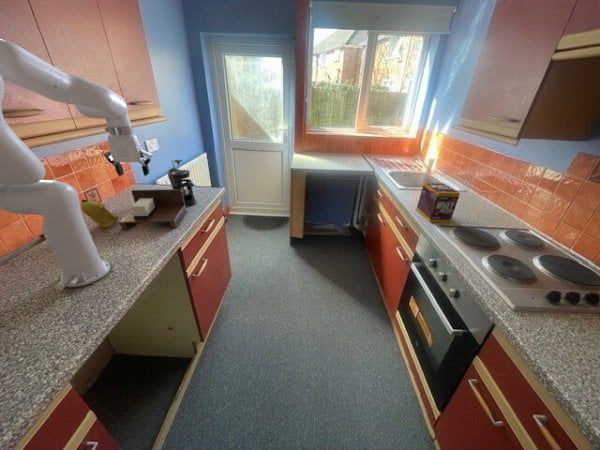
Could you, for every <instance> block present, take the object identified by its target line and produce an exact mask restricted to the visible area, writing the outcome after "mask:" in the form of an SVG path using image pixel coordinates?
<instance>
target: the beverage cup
mask: <svg viewBox="0 0 600 450" xmlns="http://www.w3.org/2000/svg"><path fill="white" fill-rule="evenodd" d="M173 161H174V160H171V162H172V167H171V168H170V169H169V170H168V171H167V177H168V179H169V182H170V184H171V187H172V189H174V188H173V181H175V180H179V179H174V178H172V175H171V172H173V171H177V170H179V168H177V167H175V162H173ZM176 184H178V185H181V184H182V182H178V183H176ZM179 188H180V189H182V190H183V187H179Z"/></svg>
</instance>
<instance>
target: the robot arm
mask: <svg viewBox="0 0 600 450" xmlns="http://www.w3.org/2000/svg"><path fill="white" fill-rule="evenodd" d="M5 82H6V83H11V84H13V85H17V86H18V87H21V88H22V89H26V90H28V91H31V92H33V93H35V94H37V95H40V96H42V97H44V98H45V99H49V100H50V101H53V102H57V103H62V104H65V105H66V104H67V105H73V106H75V108H76V110H77V111H78V112H79V113H80V114H81V115H82V116H84V117H86V118H89V119H95V120H97V119H100V120H105V123H106V127H104V130H105V132H108V133H109V134H108V135H107V141H108V147H109V151H107V152H106V153H104V154H103V157H104V158H105V159H106V160H107V161H108V162H109V163H110V164H111V165H112V166H113V167H114V169H115V171H116V174H117V175H118V177H122V176H123V175H124V174H125V172H124V169H123V166H122V164H121V163H139V164H141V169H142V174H143V176H145V177H146V176H148V175H149V174H150V168H149V164H150V162H151V161H152V158H153V154H152V153H150V152H148V151H146V150H144V149H143V147H142V145H141V143H140V140H139V138H138V136H137V135H136V133H135V132H134V130H133V126H132V122H131V119H130V115H129V112H128V105H127V103H126V100H125V98H124V97H123V96H122V95H120V94H117V93H116V92H115V91H113V90H111V89H109V88H108V87H106V86H104V85H102V84H100V83H96V82H94V81H91V80H89V79H85V78H83V77H80V76H77V75H74V74H71V73H68V72H65V71H63V70H61V69H59V68H58V67H56V66H54V65H52V64H50V63H49V62H47V61H46V60H43V59H42V58H40V57H38V56H37V55H35V54H33V53H31V52H30V51H29V50H26V49H25V48H24V47H23V48H22V47H21V46H19V45H17V44H15V43H13V42H11V41H9V40H6V39H2V38H0V209H1V210H2V211H5V212H7V213H10V214H15V215H35V216H41V217H42V224H41V231H42V234H43V236H44V238H45V240H46V242H47V244H48V245H49V247H50V249H51V251H52V253H53V254H54V257H55V259H56V260H57V262H58V264H59V266H60V268H61V270H62V272H61V277H60V281H59V282H58V283H57V284H55V286H54V288H55V289H56V290H59V291H62V290H64V288H65V287H67V288H80V287H83V286H87V285H90V284H93V283H95V282H98V281H99V280H101V279H102V278H104V277H105V276H106V275H108V274H109V272H110V271H111V264H110V262H108V261H107V260H105V259H104V260H103V259H102V258H101V256H100V254H99V252H98V248H97V247H96V244H95V242H94V240H93V237H92V235H91V232H90V230H89V228H88V226H87V224H86V221H85V219H84V216H83V211H82V209H81V202H80V197H79V193H78V191H77V190H76V188H75V187H74V186H72V185H70V184H69V183H67V182H63V181H59V180H52V179H50V180H49V179H44V178H45V176H46V168H45V166H44V164H43V162H42V161H41V160H40V159H39V157H37V155H36V154H35V153H34V152H33V151H32V150H31V149H30V147H28V146H27V145H26V143H24V142H23V140H22V139H21V138H20V137H19V136H18V135H17V134H16V133H15V132H14V130H13V129H12V128H11V127H10V125H8V123H7V122H6V120H5V117H4V115H3V114H4V113H3V98H4V94H5ZM145 157H146V159H145Z"/></svg>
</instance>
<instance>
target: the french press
mask: <svg viewBox="0 0 600 450" xmlns="http://www.w3.org/2000/svg"><path fill="white" fill-rule="evenodd" d="M172 161H173V163H177V166H178V169H179V170H177V171H173V172H171V175H172V178H174V179H179V180H175V181H173V188H174V189H180V188H179V187H183V190H182V193H183V197H184V202H185V207H191V206H194V205H196V203H197V201H196V198H195V195H194V190H193V185H192V184H193V181H192V180H191V179H189V178H190V175H191V174H190V173H191V171H190V170H187V169H181V168H180V163H182V162H183V160H182V159H175V160H172ZM178 182H182V184H181V185H178V184H176V183H178ZM184 182H185V183H184ZM185 187H186V188H185ZM173 188H172V189H173Z"/></svg>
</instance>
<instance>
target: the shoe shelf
mask: <svg viewBox="0 0 600 450" xmlns="http://www.w3.org/2000/svg"><path fill="white" fill-rule="evenodd" d="M131 194H132V197H133V200H134V204H135V203H136V202H137V201H138V200H139V199H141V198H153V201H154V204H155V205H157V206H158V208H157V210H156V211H155V212H154V213H153V214H152V215H151V216H150V217H149V219H143V220H134V214H133V211H132V210H130V212H128V213H127V214H126V215H125V216H124V217H123V218H122V219H121V220H119V225H120V228H121V230H122V231H128V230H129V229H130V227H132V226H133V225H134V224H145V223H146V224H147V223H169V224H170V228H171V229H177V228H178V226H179V225H180V223H181V221H182V220H183V218H184V217H185V215H186V213H187V208H186V207H185V202H184V197H183V193H182V189H173V188H172V189H171V188H167V189H163V188H162V189H131Z"/></svg>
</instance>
